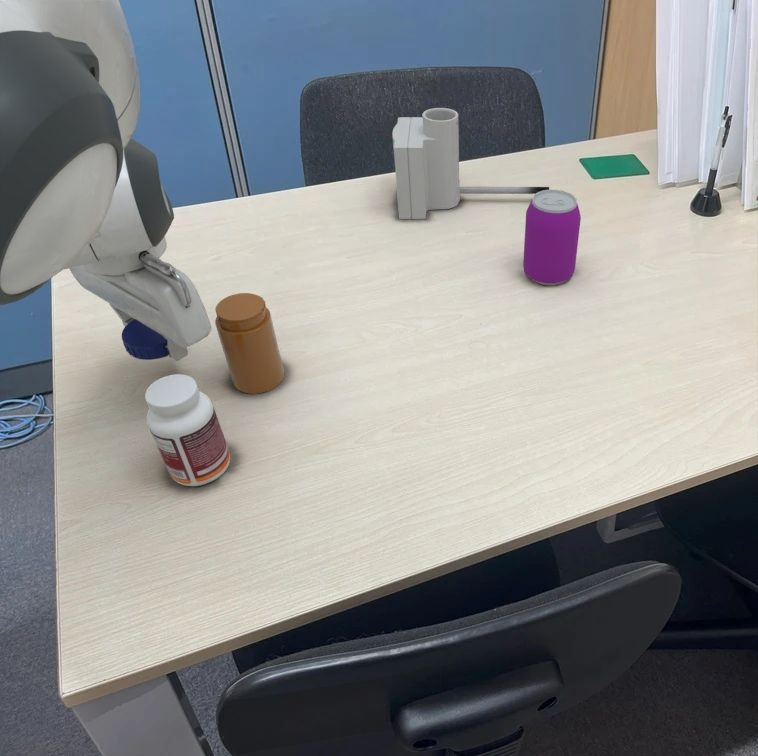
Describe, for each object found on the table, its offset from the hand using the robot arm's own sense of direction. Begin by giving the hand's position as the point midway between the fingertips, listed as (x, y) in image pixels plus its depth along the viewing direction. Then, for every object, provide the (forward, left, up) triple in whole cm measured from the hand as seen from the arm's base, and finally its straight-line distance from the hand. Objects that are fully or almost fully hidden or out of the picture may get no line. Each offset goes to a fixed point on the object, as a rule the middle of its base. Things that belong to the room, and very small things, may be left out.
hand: (157, 342), depth 82 cm
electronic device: (+58, +8, -5) cm, 59 cm away
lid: (0, 0, +2) cm, 2 cm away
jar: (+8, -7, -5) cm, 12 cm away
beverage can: (+51, -16, -5) cm, 53 cm away
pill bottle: (-4, -16, -5) cm, 17 cm away
